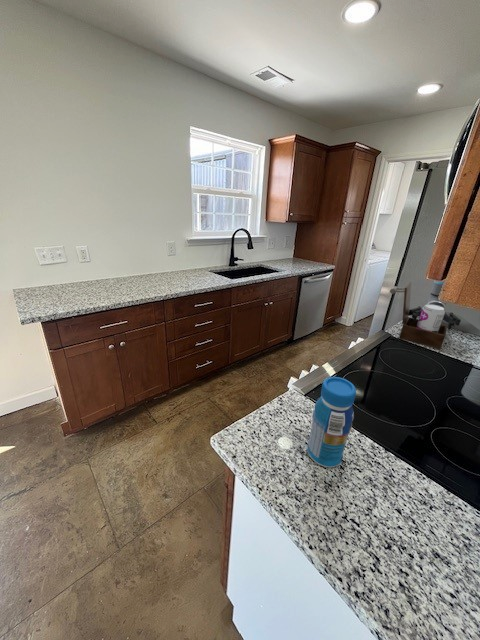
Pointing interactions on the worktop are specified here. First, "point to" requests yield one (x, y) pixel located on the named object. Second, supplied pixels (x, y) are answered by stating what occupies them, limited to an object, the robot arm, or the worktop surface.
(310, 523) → the worktop surface
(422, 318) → the supplement can
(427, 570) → the worktop surface
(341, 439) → the beverage bottle
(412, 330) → the storage bin
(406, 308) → the bin lid
